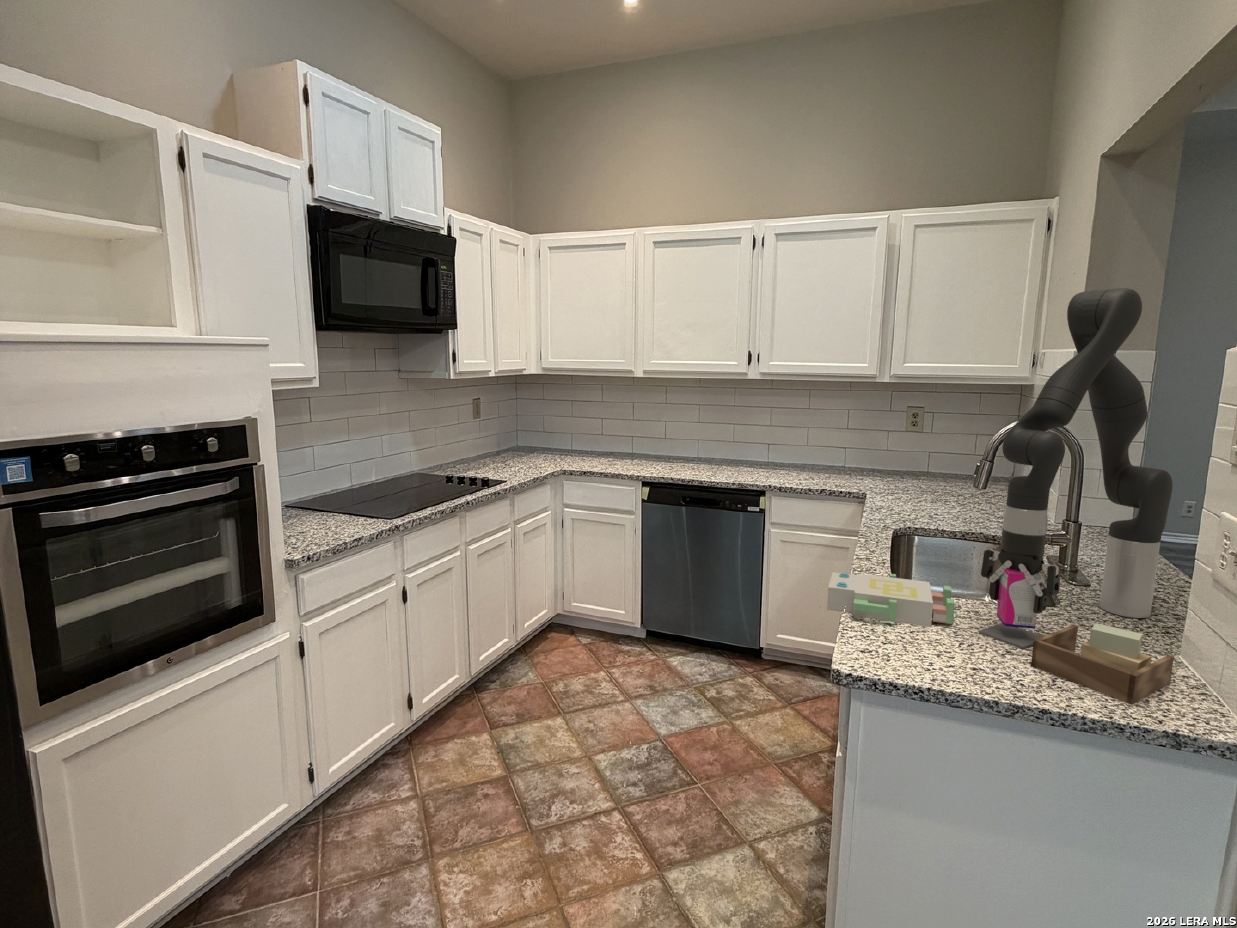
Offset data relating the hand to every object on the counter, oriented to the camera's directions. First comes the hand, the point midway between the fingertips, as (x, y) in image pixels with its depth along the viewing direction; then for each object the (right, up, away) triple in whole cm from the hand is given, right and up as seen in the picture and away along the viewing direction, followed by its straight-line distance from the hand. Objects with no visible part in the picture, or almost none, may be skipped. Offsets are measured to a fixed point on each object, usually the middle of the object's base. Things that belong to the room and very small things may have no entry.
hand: (1015, 605), depth 133 cm
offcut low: (+10, -9, -13) cm, 19 cm away
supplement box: (0, -4, +1) cm, 4 cm away
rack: (+6, -9, -15) cm, 19 cm away
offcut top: (+10, -5, -13) cm, 17 cm away
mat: (0, -6, +1) cm, 7 cm away
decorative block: (-20, -5, +16) cm, 26 cm away
